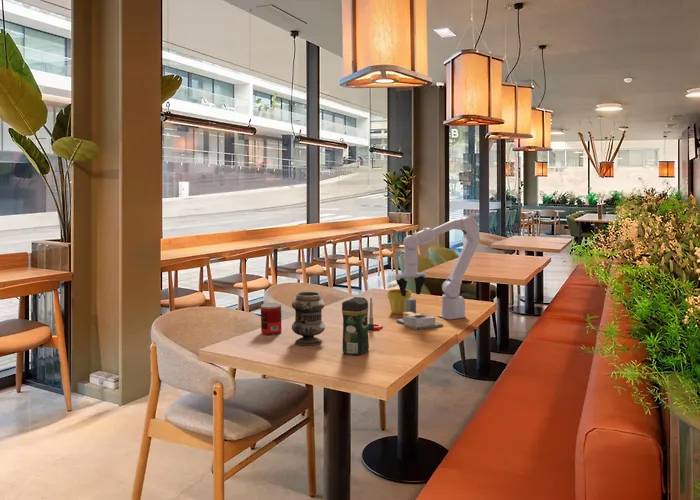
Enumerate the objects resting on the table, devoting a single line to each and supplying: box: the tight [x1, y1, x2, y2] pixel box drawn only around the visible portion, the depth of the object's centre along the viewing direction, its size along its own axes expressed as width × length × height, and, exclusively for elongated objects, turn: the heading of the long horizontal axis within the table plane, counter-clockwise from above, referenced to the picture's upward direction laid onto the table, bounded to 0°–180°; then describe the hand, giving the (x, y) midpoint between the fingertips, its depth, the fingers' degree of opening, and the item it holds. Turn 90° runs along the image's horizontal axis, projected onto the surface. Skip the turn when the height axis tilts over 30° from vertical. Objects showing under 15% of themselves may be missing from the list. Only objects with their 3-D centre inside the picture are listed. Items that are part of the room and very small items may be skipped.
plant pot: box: [387, 288, 412, 315], centre depth 256 cm, size 10×10×10 cm
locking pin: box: [406, 297, 417, 314], centre depth 246 cm, size 3×3×8 cm
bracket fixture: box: [395, 312, 444, 331], centre depth 233 cm, size 12×16×4 cm
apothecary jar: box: [291, 290, 326, 347], centre depth 206 cm, size 12×12×18 cm
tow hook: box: [368, 297, 384, 331], centre depth 228 cm, size 8×13×9 cm
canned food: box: [260, 302, 283, 336], centre depth 220 cm, size 8×8×11 cm
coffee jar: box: [341, 296, 370, 356], centre depth 193 cm, size 10×8×19 cm
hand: (410, 295), depth 245 cm, fingers open, 7 cm apart
